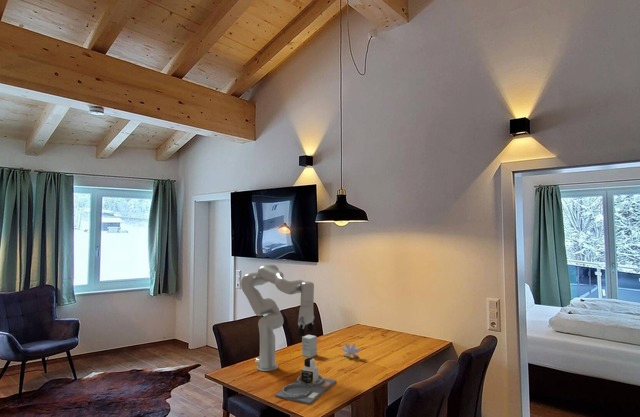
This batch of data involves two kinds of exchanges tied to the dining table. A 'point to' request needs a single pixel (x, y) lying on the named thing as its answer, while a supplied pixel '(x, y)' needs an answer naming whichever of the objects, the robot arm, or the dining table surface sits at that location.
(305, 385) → the steel rings
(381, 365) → the dining table surface
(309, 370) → the medicine bottle
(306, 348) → the supplement box
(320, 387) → the socket board
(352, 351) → the water lily
